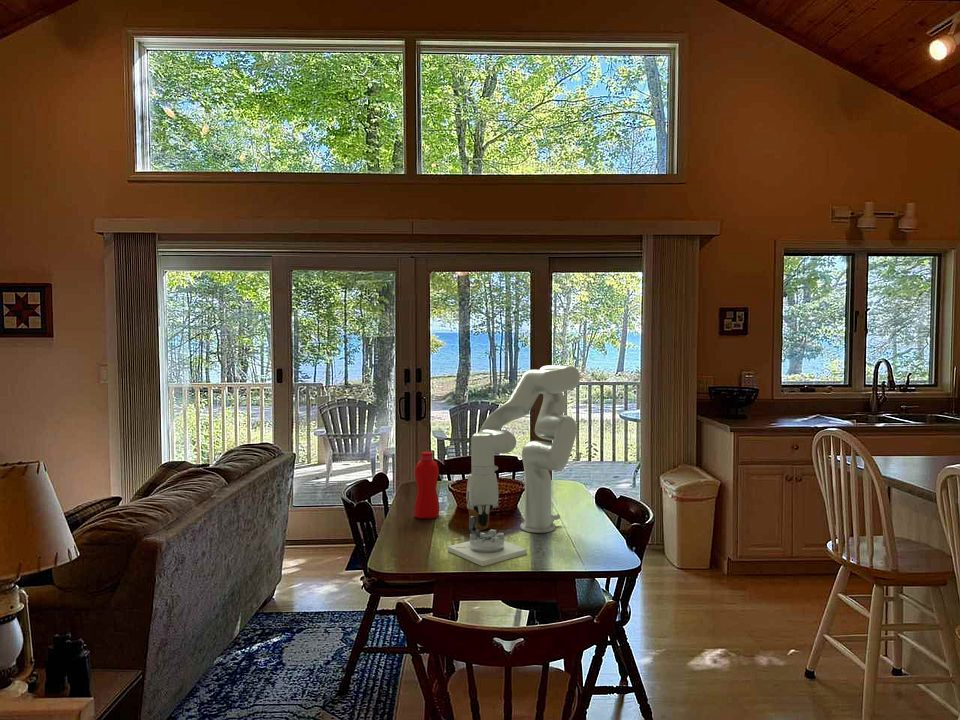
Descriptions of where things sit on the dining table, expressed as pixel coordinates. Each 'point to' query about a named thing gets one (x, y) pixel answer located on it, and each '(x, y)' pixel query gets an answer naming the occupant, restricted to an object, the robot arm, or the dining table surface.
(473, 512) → the disposable coffee cup
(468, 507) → the robot arm
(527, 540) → the dining table surface
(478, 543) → the silver lever knob
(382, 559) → the dining table surface
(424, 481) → the water bottle
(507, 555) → the base plate
